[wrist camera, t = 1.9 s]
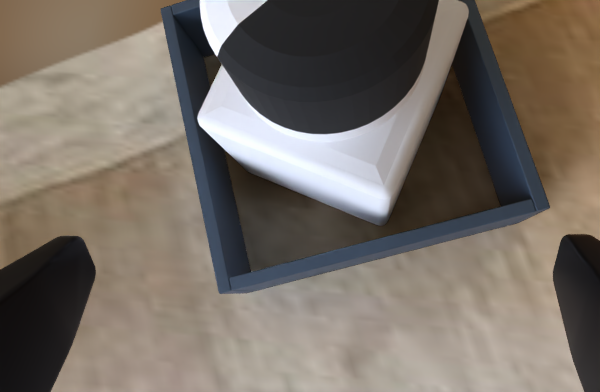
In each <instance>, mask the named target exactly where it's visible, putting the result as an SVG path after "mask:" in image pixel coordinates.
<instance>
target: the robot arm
mask: <svg viewBox="0 0 600 392" xmlns="http://www.w3.org/2000/svg"><path fill="white" fill-rule="evenodd" d="M95 275H96V270H95V265H94V263H93V261H92V258H91V256H90V254H89V251H88V249H87V247H86V244H85V242H84V240H83V239H82V238H81V237H79V236H59V237H57V238H55V239H53V240H51V241H50V242H48V243H46V244H44V245H43V246H41V247H39V248H38V249H36V250H34V251H32V252H31V253H29V254H27V255H25V256H24V257H22V258H20V259H18V260H17V261H15V262H13V263H11V264H10V265H8V266H6V267H4V268H3V269H1V270H0V392H51V390H52V387H53V385H54V383H55V381H56V379H57V377H58V375H59V372H60V370H61V368H62V366H63V364H64V362H65V359H66V357H67V355H68V353H69V350H70V348H71V346H72V343H73V341H74V338H75V335H76V332H77V330H78V327H79V324H80V321H81V318H82V315H83V312H84V309H85V306H86V303H87V300H88V297H89V294H90V292H91V289H92V286H93V283H94V280H95ZM553 282H554V286H555V290H556V294H557V299H558V303H559V307H560V311H561V315H562V319H563V323H564V327H565V331H566V335H567V339H568V343H569V347H570V351H571V355H572V358H573V362H574V365H575V367H576V370H577V373H578V376H579V379H580V381H581V384H582V386H583V389H584V392H600V241H599V240H598V239H596V238H595V237H593V236H591V235H587V234H568V235H565V236H564V237H563V238H562V240H561V242H560V246H559V250H558V254H557V258H556V261H555V265H554V270H553Z"/></svg>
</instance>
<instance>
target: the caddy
mask: <svg viewBox="0 0 600 392" xmlns="http://www.w3.org/2000/svg"><path fill="white" fill-rule="evenodd" d="M458 1H461V2H463V3H465V4H466V5H467V7H468V10H469V14H468V19H467V21H466V24H465V27H464V30H463V33H462V36H461V39H460V42H459V44H458V47H457V50H456V53H455V56H454V59H453V62H452V65H453V68H454V71H455V74H456V77H457V80H458V83H459V86H460V88H461V91H462V94H463V97H464V100H465V103H466V106H467V109H468V112H469V115H470V118H471V120H472V123H473V126H474V129H475V132H476V135H477V138H478V141H479V144H480V147H481V150H482V153H483V155H484V158H485V161H486V164H487V167H488V170H489V173H490V176H491V179H492V182H493V185H494V187H495V190H496V193H497V196H498V199H499V202H500V205H501V207H497V208H493V209H489V210H485V211H482V212H478V213H474V214H470V215H466V216H462V217H459V218H455V219H451V220H447V221H443V222H440V223H436V224H432V225H428V226H424V227H421V228H417V229H413V230H409V231H405V232H401V233H398V234H394V235H390V236H386V237H382V238H379V239H375V240H371V241H367V242H363V243H360V244H356V245H352V246H348V247H344V248H340V249H337V250H333V251H329V252H325V253H321V254H318V255H314V256H310V257H306V258H302V259H298V260H295V261H291V262H287V263H283V264H279V265H276V266H272V267H268V268H264V269H260V270H257V271H253V272H251V269H250V264H249V260H248V255H247V251H246V246H245V242H244V237H243V233H242V228H241V224H240V219H239V215H238V210H237V206H236V201H235V197H234V192H233V188H232V183H231V179H230V174H229V170H228V165H227V161H226V156H225V152H224V149H223V148H222V147H221V146H220V145H219V144H218V143H217V142H216V141H215V140H214V139H213V138H212V137H211V136H210V135H209V134H208V133H207V132H206V131H205V130H204V129H203V128H202V127H201V126H200V125H199V123H198V119H197V117H198V113H199V111H200V109H201V107H202V105H203V103H204V101H205V99H206V97H207V94H208V92H209V90H210V84H209V80H208V75H207V71H206V66H205V62H204V57H206V56H210V55H213V54H215V53H214V51H213V50H212V48H211V46H210V44H209V42H208V40H207V37H206V35H205V32H204V29H203V24H202V20H201V14H200V0H186V1H183V2H180V3H176V4H173V5H172V6H167V7H164V8H161V14H162V19H163V24H164V29H165V34H166V39H167V43H168V48H169V53H170V58H171V63H172V68H173V73H174V77H175V82H176V87H177V92H178V97H179V102H180V106H181V111H182V116H183V121H184V126H185V131H186V136H187V140H188V145H189V150H190V155H191V160H192V165H193V170H194V174H195V179H196V184H197V189H198V194H199V199H200V204H201V208H202V213H203V218H204V223H205V228H206V233H207V237H208V242H209V247H210V252H211V257H212V262H213V267H214V271H215V276H216V281H217V286H218V291H219V293H220V294H233V293H249V292H253V291H257V290H261V289H265V288H269V287H273V286H276V285H280V284H284V283H288V282H292V281H296V280H300V279H303V278H307V277H311V276H315V275H319V274H323V273H327V272H331V271H334V270H338V269H342V268H346V267H350V266H354V265H358V264H362V263H365V262H369V261H373V260H377V259H381V258H385V257H389V256H392V255H396V254H400V253H404V252H408V251H412V250H416V249H420V248H423V247H427V246H431V245H435V244H439V243H443V242H447V241H451V240H454V239H458V238H462V237H466V236H470V235H474V234H478V233H482V232H485V231H489V230H493V229H497V228H501V227H505V226H507V225H512V224H516V223H519V222H521V221H523V220H526V219H528V218H530V217H532V216H534V215H536V214H538V213H540V212H542V211H545V210H547V209H549V208H550V205H549V202H548V199H547V197H546V194H545V191H544V188H543V186H542V183H541V180H540V178H539V175H538V172H537V169H536V167H535V164H534V161H533V158H532V156H531V153H530V150H529V148H528V145H527V142H526V139H525V137H524V134H523V131H522V128H521V126H520V123H519V120H518V117H517V115H516V112H515V109H514V107H513V104H512V101H511V98H510V96H509V93H508V90H507V87H506V85H505V82H504V79H503V76H502V74H501V71H500V68H499V66H498V63H497V60H496V57H495V55H494V52H493V49H492V46H491V44H490V41H489V38H488V35H487V33H486V30H485V27H484V25H483V22H482V19H481V16H480V14H479V11H478V8H477V5H476V3H475V0H458Z"/></svg>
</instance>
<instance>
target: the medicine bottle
mask: <svg viewBox="0 0 600 392" xmlns="http://www.w3.org/2000/svg"><path fill="white" fill-rule="evenodd" d="M200 14H201V20H202V24H203V29H204V32H205V35H206V37H207V40H208V42H209V44H210V46H211V48H212V50H213V51H214V53H215V55H216V56H217V58H218V59H219V61H220V62H221V64H222V65H221V67H220V69H219V71H218V74H217V76H216V78H215V80H214V82H213V84H212V86H211V88H210V90H209V92H208V94H207V97H206V99H205V101H204V103H203V105H202V107H201V109H200V111H199V113H198V117H197V119H198V123H199V125H200V126H201V127H202V128H203V129H204V130H205V131H206V132H207V133H208V134H209V135H210V136H211V137H212V138H213V139H214V140H215V141H216V142H217V143H218V144H219V145H220V146H221V147H222V148H223V149H224V150H226V151H227V152H228V153H229V154H230V155H231V156H232V157H233V158H234V159H235V160H236V161H237V162H238V163H239V164H240V165H241V166H242V167H243V168H244V169H245V170H246V171H248V172H249V173H251V174H254V175H256V176H259V177H261V178H264V179H266V180H268V181H271V182H273V183H276V184H278V185H281V186H283V187H285V188H288V189H290V190H293V191H295V192H298V193H300V194H302V195H305V196H307V197H310V198H312V199H315V200H317V201H319V202H322V203H324V204H327V205H329V206H332V207H334V208H336V209H339V210H341V211H344V212H346V213H348V214H351V215H353V216H356V217H358V218H361V219H363V220H365V221H368V222H370V223H373V224H375V225H379V226H383V225H385V224H386V223H387V222H388V220H389V218H390V216H391V213H392V211H393V208H394V206H395V204H396V201H397V199H398V196H399V194H400V192H401V189H402V187H403V184H404V182H405V180H406V177H407V175H408V172H409V170H410V168H411V165H412V163H413V160H414V158H415V156H416V153H417V151H418V148H419V146H420V144H421V141H422V139H423V136H424V134H425V132H426V129H427V127H428V124H429V122H430V120H431V117H432V115H433V112H434V110H435V108H436V105H437V103H438V100H439V98H440V96H441V93H442V91H443V88H444V85H445V82H446V79H447V76H448V73H449V70H450V68H451V65H452V62H453V59H454V56H455V53H456V50H457V47H458V44H459V42H460V39H461V36H462V33H463V30H464V27H465V24H466V21H467V19H468V14H469V10H468V7H467V5H466V4H465V3H463V2H461V1H458V0H200Z"/></svg>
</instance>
